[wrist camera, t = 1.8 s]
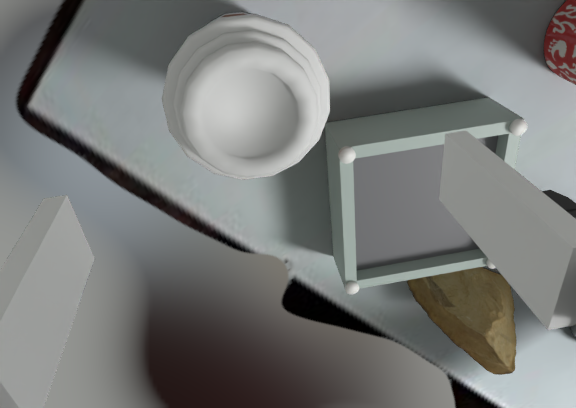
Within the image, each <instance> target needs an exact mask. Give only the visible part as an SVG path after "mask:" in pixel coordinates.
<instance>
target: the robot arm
mask: <svg viewBox="0 0 576 408" xmlns="http://www.w3.org/2000/svg"><path fill="white" fill-rule="evenodd" d="M439 200H440V201H441V202H442V204H443V205H444V206H445V207H446V208H447V210H448V211H449V212H450V213H451V214H452V216H453V217H454V218H455V219H456V220H457V222H458V223H459V224H460V225H461V226H462V228H463V229H464V230H465V231H466V232H467V234H468V235H469V236H470V237H471V238H472V240H473V241H474V242H475V243H476V244H477V246H478V247H479V248H480V249H481V250H482V252H483V253H484V254H485V255H486V256H487V258H488V259H489V260H490V261H491V262H492V264H493V265H494V266H495V267H496V268H497V270H498V271H499V272H500V273H501V274H502V276H503V277H504V278H505V279H506V280H507V282H508V283H509V284H510V285H511V287H512V288H513V289H514V290H515V291H516V293H517V294H518V295H519V296H520V297H521V299H522V300H523V301H524V302H525V303H526V305H527V306H528V307H529V308H530V309H531V311H532V312H533V313H534V314H535V315H536V317H537V318H538V319H539V320H540V321H541V323H542V324H543V325H544V326H545V327H546V329H547V330H552V329H557V328H563V327H568V326H571V330H572V333H573V335H574V336H575V337H576V203H575V202H573V201H572V200H571V199H569V198H568V197H566V196H563V195H561V194H559V193H556V192H554V191H552V190H547V191H541V190H539V189H538V188H537V187H536V186H534V185H533V184H532V183H531V182H529V181H528V180H527V179H526V178H524V177H523V176H522V175H521V174H519V173H518V172H517V171H516V170H514V169H513V168H512V167H511V166H510V165H508V164H507V163H506V162H505V161H503V160H502V159H501V158H500V157H498V156H497V155H496V154H495V153H493V152H492V151H491V150H490V149H488V148H487V147H486V146H485V145H483V144H482V143H481V142H480V141H479V140H477V139H476V138H475V137H474V136H472V135H471V134H470V133H469V132H467V131H460V132H454V133H447V134H445V143H444V153H443V164H442V175H441V185H440V196H439ZM94 260H95V257H94V255H93V253H92V251H91V248H90V246H89V244H88V242H87V239H86V237H85V235H84V232H83V230H82V228H81V225H80V223H79V221H78V219H77V216H76V214H75V212H74V210H73V207H72V205H71V203H70V200H69V198H68V196H67V195H63V196H57V197H50V198H44V199H43V200H42V202H41V204H40V205H39V207H38V209H37V210H36V212H35V214H34V215H33V217H32V219H31V220H30V222H29V224H28V225H27V227H26V228H25V230H24V232H23V233H22V235H21V237H20V238H19V240H18V242H17V243H16V245H15V247H14V248H13V250H12V252H11V253H10V255H9V256H8V258H7V260H6V262H5V263H4V265H3V267H2V268H1V270H0V408H43V407H44V404H45V402H46V399H47V396H48V393H49V390H50V387H51V384H52V381H53V378H54V376H55V373H56V369H57V367H58V364H59V361H60V358H61V355H62V352H63V349H64V346H65V344H66V341H67V338H68V335H69V332H70V329H71V326H72V323H73V320H74V317H75V315H76V312H77V309H78V306H79V303H80V300H81V297H82V294H83V291H84V289H85V286H86V283H87V280H88V277H89V274H90V271H91V268H92V266H93V263H94Z"/></svg>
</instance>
